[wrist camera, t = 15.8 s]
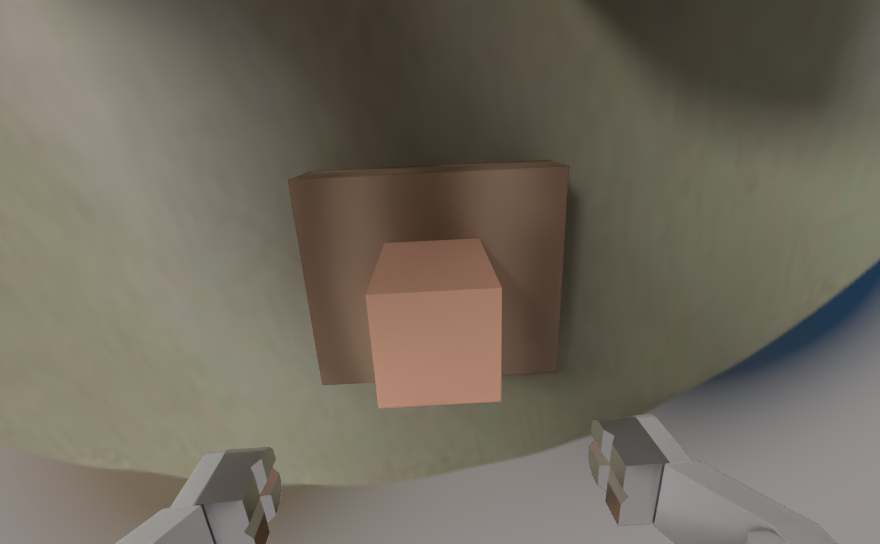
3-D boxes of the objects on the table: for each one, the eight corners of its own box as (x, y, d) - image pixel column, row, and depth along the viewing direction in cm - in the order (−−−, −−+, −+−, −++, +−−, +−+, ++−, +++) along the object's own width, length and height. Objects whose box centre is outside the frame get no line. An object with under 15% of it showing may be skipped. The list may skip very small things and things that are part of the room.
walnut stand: (336, 350, 28) (322, 385, 24) (309, 171, 24) (287, 180, 20) (539, 339, 28) (556, 372, 25) (547, 160, 24) (568, 166, 21)
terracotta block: (392, 328, 23) (378, 408, 17) (384, 243, 22) (365, 295, 15) (480, 323, 23) (501, 401, 17) (479, 238, 22) (501, 287, 15)
